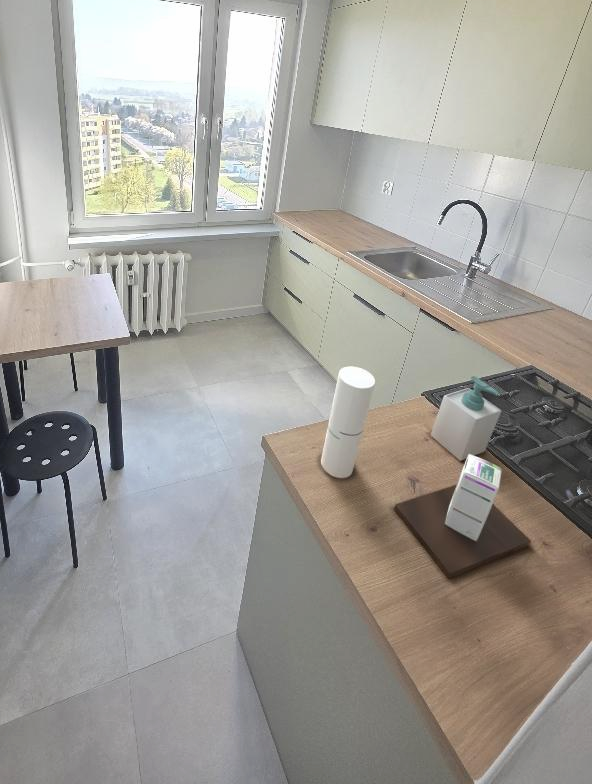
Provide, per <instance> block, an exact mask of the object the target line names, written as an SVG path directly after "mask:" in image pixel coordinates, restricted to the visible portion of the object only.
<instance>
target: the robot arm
mask: <svg viewBox="0 0 592 784" xmlns="http://www.w3.org/2000/svg"><path fill="white" fill-rule="evenodd" d="M585 443H586V444H587V445H589V446H591V447H592V428H591V429H590V430H589V432H588V433H587V435H586V436H585ZM590 472H591V473H590V474H591V475H592V468H591V469H590Z"/></svg>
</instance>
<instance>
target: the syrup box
mask: <svg viewBox="0 0 592 784" xmlns="http://www.w3.org/2000/svg"><path fill="white" fill-rule="evenodd" d="M502 470H503V469H502V467H500V466H498V465H496V464H494V463H493V462H490V461H488V460H486V459H483V458H481V457H478V456H476V455H474V456H473V455H471V454H469V455H468V457H467V458H466V459H465V462H464V464H463V467H462V470H461V473H460V475H459V478H458V481H457V483H456V485H457V486H456V489H455V491H454V494H453V497H452V500H451V502H450V505H449V509H448V513H447V517H446V521H445V524H446V525H447V526H449V527H450V528H452V529H454V530H456V531H458V532H459V533H461V534H463V535H465V536H467V537H469V538H470V539H472V540H474V541H477V539H478V537H479V535H480V533H481V531H482V528H483V526H484V524H485V521H486V519H487V516H488V514H489V512H490V509H491V507H492V504H494V502H495V499H496V497H497V494H498V492H499V490H500V483H501V478H502Z"/></svg>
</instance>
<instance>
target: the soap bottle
mask: <svg viewBox="0 0 592 784" xmlns="http://www.w3.org/2000/svg"><path fill="white" fill-rule="evenodd" d="M470 380H471V381H473V383H474V384H473V389H471V388H470V387H467V388H464V389H460V390H457V391H453V392H450V393H448V394H445V395H443V398H442V399H441V403H440V406H439V410H438V412H437V416H436V417H435V418H436V419H435V421H434V424H433V427H432V430H431V433H430V436H431V437H432V438H433V439H434V440H435V441H436V442H438V443H439V445H441V446H442V447H443V448H444V449H445V450H447V451H448V452H449V453H450V454H451V455H453V457H455V458H456V459H457V460H458V461H459V462H461V461H464V460H467V457H468V455H469V454H471V455H473V456H476V455H478V454H481V453H484V452H486V450H487V447H488V445H489V442H490V440H491V437H492V435H493V433H494V430H495V428H496V425H497V423H498V420H499V418H500V416H501V413H502V410H501V409H500V408H499V407H497V406H496V405H495V404H493V403H492V402H490V401H488V399H486V398H484V396H483V394H482V393H481V392H482V391H483V392H486V393H490V394H492V395H494V396H496V397H499V396H500V395H501V394H500V392H499V391H497V390H496V389H495V388H494V387H491V386H490V385H488V384H487V383H486V382H484V381H483V380H482V379H480V378H479V377H477V376H476V375H475V376H474V375H473V376H470Z"/></svg>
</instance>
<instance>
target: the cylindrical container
mask: <svg viewBox="0 0 592 784" xmlns="http://www.w3.org/2000/svg"><path fill="white" fill-rule="evenodd" d="M337 375H338V376H337V380H336V385H335V390H334V395H333V399H332V404H331V408H330V409H331V410H330V414H329V420H328V425H327V429H326V434H325V439H324V444H323V448H322V453H321V458H320V464H321V467H322V469H323V470H324V471H325V472H326V473H327V474H328V475H330V476H331V477H335V478H338V479H345V478H349V477H350V476H351V475H352V474H353V471H354V468H355V463H356V459H357V456H358V451H359V448H360V444H361V439H362V435H363V432H364V428H365V424H366V420H367V416H368V411H369V408H370V404H371V400H372V395H373V392H374V388H375V384H376V379H375V377H374V375H373V374H372V373H370V372H369V371H368V370H366V369H364V368H361V367H358V366H352V365H351V366H350V365H349V366H344V367H342V368H340V369H339V371H338V374H337Z"/></svg>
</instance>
